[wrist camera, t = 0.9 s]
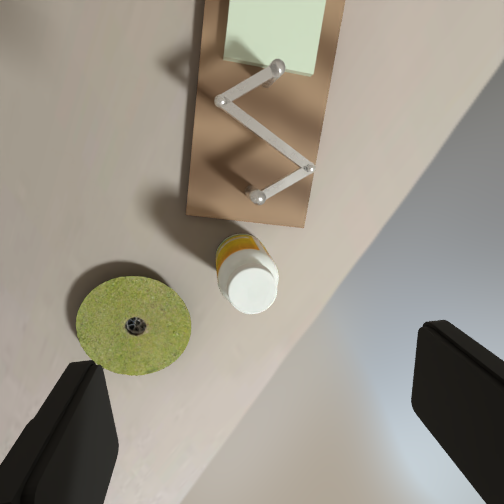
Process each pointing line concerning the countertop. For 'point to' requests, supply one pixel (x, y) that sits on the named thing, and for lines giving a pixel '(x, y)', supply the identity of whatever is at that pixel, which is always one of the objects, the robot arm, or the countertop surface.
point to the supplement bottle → (246, 273)
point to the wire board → (246, 142)
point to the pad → (274, 33)
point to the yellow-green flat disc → (133, 325)
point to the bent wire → (264, 131)
